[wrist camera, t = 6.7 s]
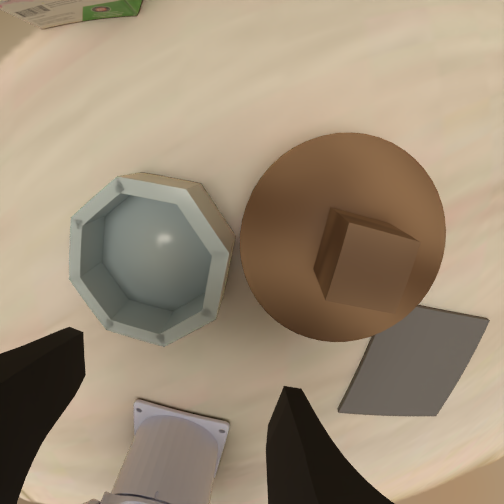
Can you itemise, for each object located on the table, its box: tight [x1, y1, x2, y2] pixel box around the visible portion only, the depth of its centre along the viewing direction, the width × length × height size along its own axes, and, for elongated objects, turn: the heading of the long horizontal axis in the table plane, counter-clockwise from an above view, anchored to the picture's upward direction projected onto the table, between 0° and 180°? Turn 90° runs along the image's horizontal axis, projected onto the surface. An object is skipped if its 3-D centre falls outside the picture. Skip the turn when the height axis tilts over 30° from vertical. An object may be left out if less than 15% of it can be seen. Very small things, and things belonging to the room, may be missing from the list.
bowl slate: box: [69, 172, 236, 347], centre depth 18 cm, size 9×9×4 cm
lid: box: [240, 133, 446, 342], centre depth 13 cm, size 10×10×4 cm
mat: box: [338, 305, 490, 416], centre depth 21 cm, size 10×10×1 cm
